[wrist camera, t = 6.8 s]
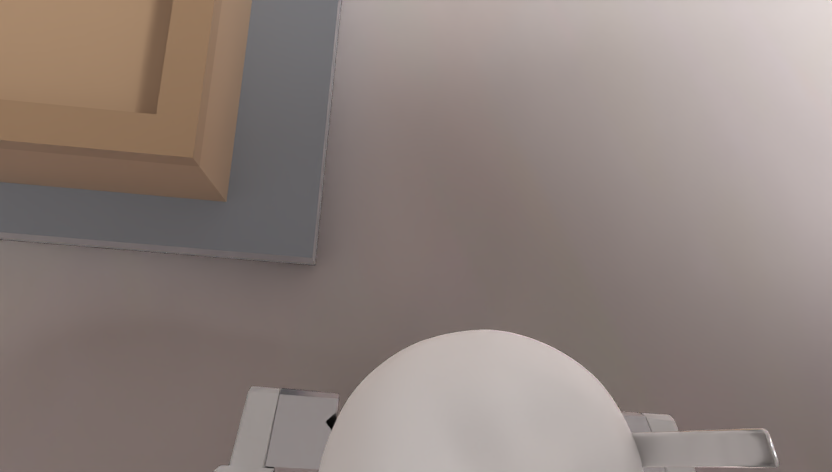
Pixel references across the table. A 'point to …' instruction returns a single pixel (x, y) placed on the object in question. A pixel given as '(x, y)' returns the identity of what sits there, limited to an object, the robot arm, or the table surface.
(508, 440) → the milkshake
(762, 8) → the table surface
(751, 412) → the table surface
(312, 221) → the baseplate
